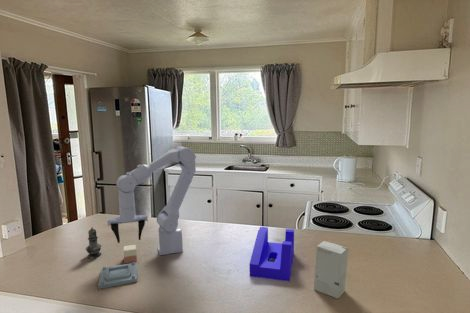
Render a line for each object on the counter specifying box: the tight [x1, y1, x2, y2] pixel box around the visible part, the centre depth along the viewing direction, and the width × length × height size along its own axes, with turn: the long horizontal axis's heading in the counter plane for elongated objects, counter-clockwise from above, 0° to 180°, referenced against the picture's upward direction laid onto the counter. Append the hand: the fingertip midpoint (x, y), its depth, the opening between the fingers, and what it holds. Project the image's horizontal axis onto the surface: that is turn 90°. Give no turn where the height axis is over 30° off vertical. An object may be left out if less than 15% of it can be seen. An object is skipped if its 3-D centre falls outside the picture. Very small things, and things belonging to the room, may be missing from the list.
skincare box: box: [313, 240, 349, 299], centre depth 96 cm, size 8×6×15 cm
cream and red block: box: [123, 244, 138, 264], centre depth 120 cm, size 4×4×5 cm
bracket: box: [249, 226, 295, 282], centre depth 114 cm, size 21×14×10 cm, turn 165°
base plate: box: [97, 261, 138, 289], centre depth 108 cm, size 12×12×2 cm
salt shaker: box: [85, 226, 102, 259], centre depth 123 cm, size 6×6×12 cm
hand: (129, 240), depth 119 cm, fingers open, 7 cm apart
